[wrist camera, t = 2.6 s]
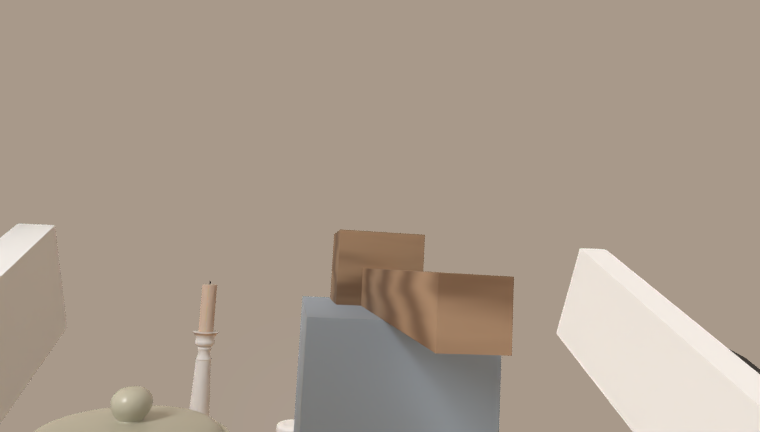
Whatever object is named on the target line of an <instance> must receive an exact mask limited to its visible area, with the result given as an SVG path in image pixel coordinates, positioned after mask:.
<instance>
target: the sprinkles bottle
mask: <svg viewBox="0 0 760 432" xmlns="http://www.w3.org/2000/svg"><path fill="white" fill-rule="evenodd" d="M276 432H294V419H289V420H284V421H281V422H279V423H278V424H277V427H276Z"/></svg>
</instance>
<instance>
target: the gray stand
mask: <svg viewBox="0 0 760 432" xmlns="http://www.w3.org/2000/svg"><path fill="white" fill-rule="evenodd" d="M500 379H501V355H472V354H437V353H434V352H433V351H431V350H429V349H428V348H426V347H425V346H423V345H422V344H420V343H418V342H417V341H415V340H414V339H412V338H411V337H409V336H408V335H406V334H404V333H403V332H401V331H400V330H398V329H397V328H395V327H393V326H392V325H390V324H389V323H387V322H386V321H384V320H383V319H381V318H379V317H378V316H376V315H375V314H373V313H372V312H370V311H368V310H367V309H365V308H364V307H362V306H358V305H336V304H335V303H334V302H333V301H332V300H331V299H330V298H329V297H306V296H303V298H302V313H301V328H300V343H299V358H298V373H297V388H296V403H295V418H294V432H499V412H500V410H499V409H500Z"/></svg>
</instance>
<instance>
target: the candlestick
mask: <svg viewBox="0 0 760 432" xmlns="http://www.w3.org/2000/svg"><path fill="white" fill-rule="evenodd" d="M210 283H211V282H210ZM216 290H217V285H214V284H203V285H202V297H201V308H200V320H199V330H198V331H193V333H194V334H195V335H196V341H195V344H196V345H197V346H198V356H197V358H196V365H195V372H194V379H193V387H192V394H191V401H190V410H194V411H197V412H200V413H203V414H205V415H208V416H209V402H210V369H211V357H210V350H211V346H212V345H213V344H214V343H215V340H214V337H215V336H216V334H218V333H219V332H218V331H213V327H214V315H215V303H216Z"/></svg>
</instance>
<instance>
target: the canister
mask: <svg viewBox="0 0 760 432" xmlns="http://www.w3.org/2000/svg"><path fill="white" fill-rule="evenodd" d="M152 403H153V397H152V394H151V393H150V391H149V390H147V389H146V388H144V387H139V386H131V387H125V388H122V389H120V390H119V391H118V392H116V393H115V394H114V396H113V397H112V399H111V403H110V408H103V409H96V410H91V411H86V412H81V413H77V414H73V415H69V416H66V417H63V418H60V419H57V420H55V421H52V422H50V423H48V424H46V425H43V426H42V427H40V428H39V429H37V430H36V431H34V432H229V430H228V429H227V428H226V427H225V426H223V425H222V424H220V423H218V422H216V421H215V420H214V419H212V418H211V417H209V416H208V415H205V414H203V413H200V412H197V411H194V410H190V409H185V408H179V407H171V406H155V405H154V406H153V405H152Z"/></svg>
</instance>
